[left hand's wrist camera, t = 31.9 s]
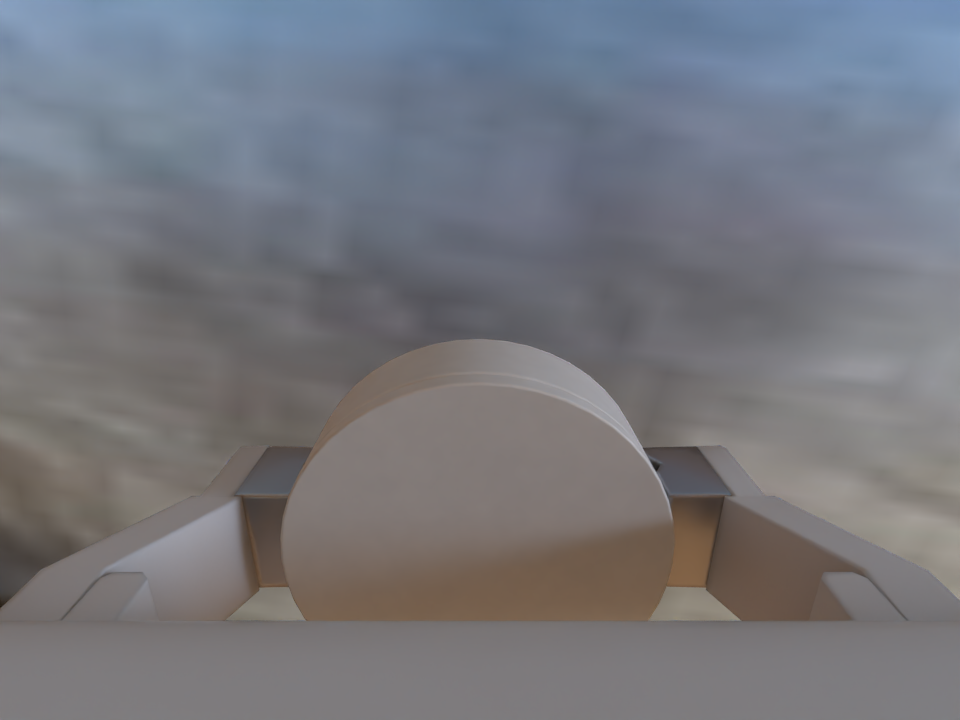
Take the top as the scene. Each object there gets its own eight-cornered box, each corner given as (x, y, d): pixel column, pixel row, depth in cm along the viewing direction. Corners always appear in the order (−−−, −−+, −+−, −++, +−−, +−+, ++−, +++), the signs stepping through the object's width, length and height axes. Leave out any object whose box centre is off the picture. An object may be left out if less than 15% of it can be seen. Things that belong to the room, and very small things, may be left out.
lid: (274, 558, 10) (235, 640, 9) (379, 280, 8) (355, 314, 7) (551, 648, 11) (564, 738, 10) (703, 415, 9) (754, 475, 8)
